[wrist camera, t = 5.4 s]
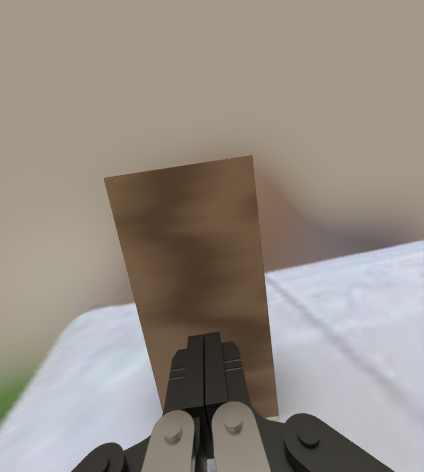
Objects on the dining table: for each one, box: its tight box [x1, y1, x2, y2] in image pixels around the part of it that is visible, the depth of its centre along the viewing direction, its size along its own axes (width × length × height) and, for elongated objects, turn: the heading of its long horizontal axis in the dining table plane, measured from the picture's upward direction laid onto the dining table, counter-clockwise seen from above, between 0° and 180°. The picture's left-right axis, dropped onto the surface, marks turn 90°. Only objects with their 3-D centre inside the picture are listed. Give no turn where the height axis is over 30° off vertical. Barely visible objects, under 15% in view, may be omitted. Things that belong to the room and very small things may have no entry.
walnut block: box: [104, 155, 279, 421], centre depth 15 cm, size 7×4×16 cm, turn 93°
